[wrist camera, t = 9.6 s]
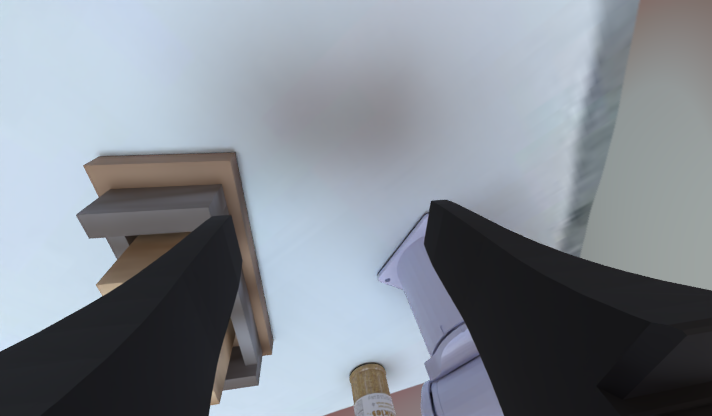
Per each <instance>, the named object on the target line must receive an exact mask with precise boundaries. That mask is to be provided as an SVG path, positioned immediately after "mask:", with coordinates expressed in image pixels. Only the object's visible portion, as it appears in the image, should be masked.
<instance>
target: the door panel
mask: <svg viewBox="0 0 712 416" xmlns="http://www.w3.org/2000/svg"><path fill="white" fill-rule="evenodd" d="M190 233H191V232H177V233H163V234H148V235H138V236H137V237H136V239H135V240H134V241H133V242H132V243H131V244H130V246H129V247H128V248H127V249H126V250H125V252H124V253H123V254H122V255H121V256H120V257H119V259H118V260H117V261H116V262H115V263H114V264H113V266H112V267H111V268H110V269H109V270H108V271H107V273H106V274H105V275H104V276H103V277H102V278H101V280H100V281H99V282H98V283H97V284H96V286H97V288H98V289H99V291H100V293H101V294H102V296H104V295H105V294H107V293H108V292H110V291H112V290H113V289H115V288H116V287H118V286H120V285H121V284H123V283H124V282H126V281H127V280H129V279H130V278H132V277H133V276H135V275H136V274H138V273H139V272H140V271H142V270H143V269H144V268H146V267H147V266H148V265H150V264H151V263H153V262H154V261H155V260H157V259H158V258H159V257H161V256H162V255H163V254H165V253H166V252H167V251H169V250H170V249H171V248H172V247H174V246H175V245H176V244H177V243H179V242H180V241H181V240H182V239H184V238H185V237H186V236H187V235H189V234H190ZM235 335H236V333H235V330H234V327H233V323H232V320H231V317H230V320H229V324H228V327H227V330H226V334H225V337H224V341H223V344H222V348H221V352H220V356H219V360H218V364H217V370H216V375H215V381H214V386H213V392H212V397H211V403H210V405H215V404H219V403H220V399H221V395H222V390H223V386H224V382H225V378H226V373H227V369H228V365H229V360H230V356H231V352H232V347H233V343H234V339H235Z"/></svg>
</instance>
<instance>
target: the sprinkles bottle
mask: <svg viewBox="0 0 712 416" xmlns="http://www.w3.org/2000/svg"><path fill="white" fill-rule="evenodd" d="M350 383H351V386H352V393H353V400H354V411H355V416H396V415H395V411H394V407H393V402H392V399H391V397H390V392H389V388H388V384H387V379H386V371H385V369H384V368H383V367H382V366H381V365H378V364H365V365H362V366H360V367H358V368H356V369H355V370H354V371H353V372H352V373H351V375H350Z"/></svg>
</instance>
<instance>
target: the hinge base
mask: <svg viewBox="0 0 712 416" xmlns="http://www.w3.org/2000/svg"><path fill="white" fill-rule="evenodd" d="M83 166H84V168H85V170H86V172H87V174H88V176H89V178H90V180H91V182H92V184H93V186H94V188H95V190H96V192H97V194H98V196H99V198H98V199H96V200H95V201H94V202H92V203H91V204H90V205H88V206H87V207H86V208H84V209H83V210H82V211H81V212H79V213H78V214H77V215H76V216H77V218H78V220H79V221H80V223H81V225H82V227H83V228H84V230H85V232H86V234H87V235H88V237H89V239H90V238H104V237H106V239H107V241H108V243H109V245H110V247H111V249H112V251H113V252H114V254H115V256H116V258H117V260H118V259H119V257H120V256H121V255H122V254H123V253H124V252H125V250H126V249H127V248H128V247H129V246H130V244H131V243H132V242H133V241H134V240H135V239H136V237H137V236H138V235H148V234H163V233H177V232H192V231H194V230H195V229H196V228H197V227H199V226H200V225H201V224H202V223H204V222H205V221H206V220H207V219H209V218H210V217H212V216H221V215H231V216H232V220H233V224H234V228H235V232H236V236H237V240H238V244H239V248H240V252H241V256H242V260H243V262H242V270H241V277H240V284H239V289H238V292H237V296H236V299H235V303H234V306H233V310H232V313H231V320H232V323H233V327H234V330H235V333H236V335H235V339H234V343H233V347H232V352H231V356H230V360H229V365H228V369H227V373H226V378H225V382H224V386H223V390H230V389H237V388H243V387H250V386H257V385H259V377H260V370H261V362H262V356H265V355H272V348H273V337H272V332H271V327H270V322H269V317H268V312H267V307H266V302H265V297H264V293H263V288H262V283H261V278H260V273H259V268H258V263H257V258H256V253H255V248H254V243H253V238H252V233H251V228H250V224H249V219H248V214H247V209H246V204H245V199H244V194H243V189H242V184H241V179H240V174H239V169H238V164H237V159H236V155H235V152H234V153H201V154H167V155H134V156H101V157H98V158H96V159H94V160H92V161H90V162H89V163H87V164H85V165H83ZM223 390H222V391H223Z"/></svg>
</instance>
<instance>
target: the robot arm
mask: <svg viewBox="0 0 712 416" xmlns="http://www.w3.org/2000/svg"><path fill="white" fill-rule="evenodd" d="M242 262H243V260H242V256H241V252H240V248H239V244H238V240H237V236H236V232H235V228H234V224H233V220H232V216H231V215H221V216H212V217H210V218H209V219H207V220H206V221H205V222H204V223H202V224H201V225H200V226H199V227H197V228H196V229H195V230H194V231H192V232H191V233H190V234H189V235H187V236H186V237H185V238H184V239H182V240H181V241H180V242H179V243H177V244H176V245H175V246H174V247H172V248H171V249H170V250H169V251H167V252H166V253H165V254H163V255H162V256H161V257H159V258H158V259H157V260H155V261H154V262H153V263H151V264H150V265H148V266H147V267H146V268H144V269H143V270H142V271H140V272H139V273H138V274H136V275H135V276H133V277H132V278H130V279H129V280H127V281H126V282H124V283H123V284H121V285H120V286H118V287H116V288H115V289H113V290H112V291H110V292H108V293H107V294H105V295H104V296H102V297H100V298H99V299H97V300H96V301H94V302H92V303H91V304H89V305H87V306H85V307H83V308H82V309H80V310H78V311H76V312H74V313H73V314H71V315H69V316H67V317H65V318H64V319H62V320H60V321H58V322H56V323H55V324H53V325H51V326H49V327H47V328H46V329H44V330H42V331H40V332H38V333H36V334H34V335H32V336H30V337H28V338H26V339H25V340H23V341H21V342H19V343H17V344H15V345H13V346H11V347H9V348H7V349H5V350H3V351H1V352H0V416H209V409H210V403H211V397H212V392H213V386H214V381H215V375H216V370H217V364H218V360H219V356H220V352H221V348H222V344H223V341H224V337H225V334H226V330H227V327H228V324H229V320H230V317H231V313H232V310H233V306H234V303H235V299H236V296H237V292H238V289H239V284H240V277H241V270H242ZM387 278H388V279H387ZM378 280H379V281H380V282H382V283H385V284H388V285H391V286H394V287H397V288H400V289H403V290H404V292H405V295H406V297H407V299H408V302H409V304H410V307H411V309H412V312H413V314H414V317H415V319H416V322H417V324H418V327H419V329H420V332H421V334H422V337H423V339H424V342H425V344H426V346H427V349H428V351H429V354H430V356H431V358H430V359H429V360H428V361H426V362H425V363H424V365H425V367H426V370H427V373H428V375H429V378H430V380H428V381H427V382H425V383H424V385H423V387H422V392H421V413H422V416H712V291H711V290H706V289H701V288H696V287H691V286H686V285H682V284H677V283H672V282H667V281H662V280H658V279H654V278H650V277H645V276H642V275H638V274H634V273H630V272H625V271H622V270H619V269H615V268H611V267H608V266H604V265H601V264H598V263H595V262H591V261H588V260H585V259H582V258H578V257H575V256H573V255H570V254H567V253H564V252H561V251H558V250H556V249H553V248H550V247H548V246H545V245H543V244H540V243H537V242H535V241H533V240H530V239H528V238H526V237H523V236H521V235H519V234H517V233H515V232H512V231H510V230H508V229H506V228H504V227H502V226H500V225H498V224H496V223H494V222H492V221H490V220H488V219H486V218H484V217H482V216H480V215H478V214H476V213H474V212H472V211H470V210H468V209H466V208H464V207H462V206H460V205H458V204H456V203H453V202H451V201H448V200H435V201H431V205H430V210H429V214H426V215H425V216H424V217H423V218H422V219H421V221H420V222H419V223H418V224H417V226H416V227H415V228H414V229H413V231H412V232H411V233H410V235H409V236H408V237H407V238H406V240H405V241H404V242H403V244H402V245H401V246H400V247H399V249H398V250H397V251H396V252H395V254H394V255H393V256H392V258H391V259H390V260H389V261H388V263H387V264H386V265H385V266H384V268H383V269H382V270H381V272H380V273H379V274H378Z"/></svg>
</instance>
